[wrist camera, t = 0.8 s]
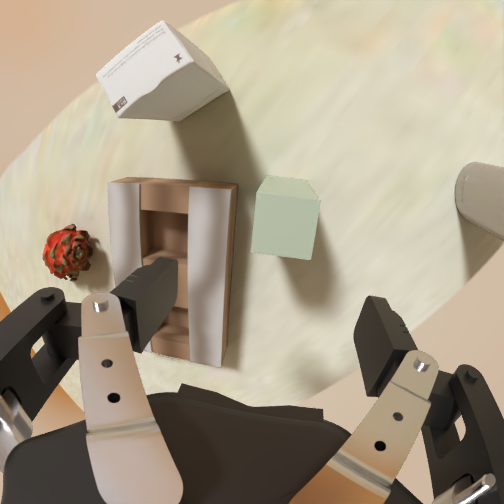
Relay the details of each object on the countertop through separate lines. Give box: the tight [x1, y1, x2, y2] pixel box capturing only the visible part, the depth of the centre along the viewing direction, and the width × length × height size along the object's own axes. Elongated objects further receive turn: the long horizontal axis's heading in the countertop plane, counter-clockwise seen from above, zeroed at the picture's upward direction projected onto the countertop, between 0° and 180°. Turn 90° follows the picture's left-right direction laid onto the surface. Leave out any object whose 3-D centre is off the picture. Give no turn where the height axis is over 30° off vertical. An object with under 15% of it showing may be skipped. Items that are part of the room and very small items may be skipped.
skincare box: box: [96, 20, 229, 122], centre depth 24 cm, size 8×6×15 cm
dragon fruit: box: [43, 224, 93, 281], centre depth 38 cm, size 8×8×12 cm
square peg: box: [251, 175, 321, 260], centre depth 29 cm, size 5×5×14 cm
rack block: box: [108, 177, 238, 368], centre depth 38 cm, size 16×26×5 cm, turn 175°
